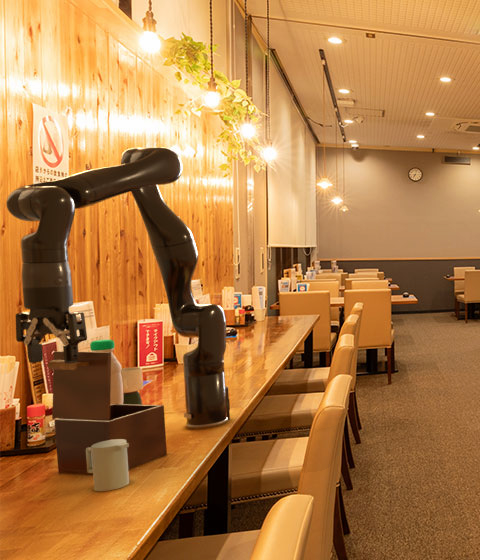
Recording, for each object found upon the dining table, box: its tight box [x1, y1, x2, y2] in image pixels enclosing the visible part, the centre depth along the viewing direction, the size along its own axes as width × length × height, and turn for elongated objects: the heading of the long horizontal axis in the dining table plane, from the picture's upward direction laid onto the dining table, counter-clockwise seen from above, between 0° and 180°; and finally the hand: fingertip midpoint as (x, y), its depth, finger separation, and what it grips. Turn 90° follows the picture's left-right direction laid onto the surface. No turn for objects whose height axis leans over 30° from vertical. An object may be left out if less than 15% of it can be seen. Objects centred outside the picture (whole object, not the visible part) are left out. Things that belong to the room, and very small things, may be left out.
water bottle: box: [89, 339, 123, 405], centre depth 166 cm, size 7×7×25 cm
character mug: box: [121, 366, 144, 405], centre depth 189 cm, size 11×7×13 cm, turn 30°
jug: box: [86, 439, 130, 492], centre depth 132 cm, size 9×6×9 cm, turn 81°
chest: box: [54, 404, 168, 475], centre depth 146 cm, size 14×14×12 cm
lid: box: [47, 350, 111, 420], centre depth 136 cm, size 14×14×5 cm
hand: (53, 362), depth 133 cm, fingers open, 8 cm apart
